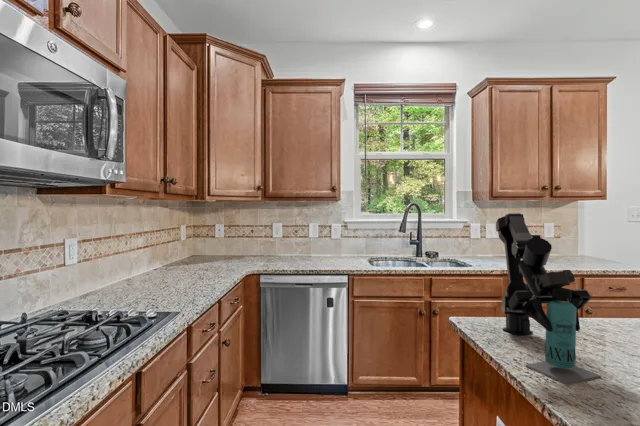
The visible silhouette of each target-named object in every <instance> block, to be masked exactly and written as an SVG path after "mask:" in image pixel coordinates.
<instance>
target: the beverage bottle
mask: <svg viewBox="0 0 640 426" xmlns="http://www.w3.org/2000/svg"><path fill="white" fill-rule="evenodd" d="M571 290H572V289H570V288H565V287H562V288H553V291H552V296H553V297H556V298H563V299H571V298H572V292H571ZM576 311H577V308H576V307H575V306H574V305H573V304H572V303H570V302H566V301H559V300H553V301H551V302H549V303H547V304H546V316H547V318H548V320H549V322H550V324H551V327H552V331H551V332H549V331H548V330H546V329H545V328H544V329H545V337H544V339H545V342H544V357H543V358H544V359H545V360H544V361H546V362H547V363H549V364H550V365H553V366H556V367H560V368H573V367H574V366H576V361H577V352H576V349H577V348H576V346H577V332H578V331H577V329H576Z"/></svg>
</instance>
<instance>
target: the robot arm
mask: <svg viewBox="0 0 640 426" xmlns="http://www.w3.org/2000/svg"><path fill="white" fill-rule="evenodd" d="M524 217H525V216H524V214H523V213H521V212H520V213H515V212H513V213H507V214H505V215H504V216H502V217H499V218H498V219H497V220H496V221H495V231H496V232H497V234H498V238H499V240H500V241H501V242H502V243H503V245H504V251H505V253H504V254H505V261H506V262H505V263H506V268H507V269H506V271H507V279H508V285H507V286H506V289H505V290H504V294H503V295H502V299H501V311H502V312H503V314H504V315H505V327H503V328H502V331H505V332H507V333H510V334H513V335H516V336H523V335H529V334H533V333H534V332H533V331H532V330H531V321H530V318H531V319H532V320H534V321H536V323H538V324H539V325H540V326H542V327H543V328H544V329H546V330H548V331H549V332H551V331H552V327H551V324H550V322H549V320H548V318H547V313H546V312H545V311H544V309H543V305H544V304H546V305H547V304H548V303H549V302H551V301H553V300H559V301H566V302H570V303H572V304H573V305H574V306H575V307H576V308H577V311H576V329H577V331H576V332H579V331H580V330H581V326H580V319H579V310H580V309H582V308H583V307H584V306H585V305H587V303H588V302H589V301H590V300H591V299H592V296H591V294H590V292H589V291H588V290H586V289H582V288H581V289H580V288H579V289H576V288H575V289H570V290H571V292H572V298H571V299H563V298H556V297H553V296H552V291H553V288H564V287H566V286H570V285H571V283H574V282H575V281H576V278H575V276H574V273H573V272H572V271H571V269H563V270H562V271H549V272H547V270H546V268H545V266H546V265H547V262H548V261H549V257H550V254H551V251H552V249H553V248H552V244H551V243H550V242H549V241H548V240H546V239H544V238H541V234H531V233H530V231H529V228H528V226H527V224H526V221H525V218H524ZM546 330H545V331H546Z"/></svg>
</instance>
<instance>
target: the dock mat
mask: <svg viewBox="0 0 640 426" xmlns="http://www.w3.org/2000/svg"><path fill="white" fill-rule="evenodd" d="M525 367H526V368H528V369H531V370H533V371H534V372H538V373H540V374H542V375H543V376H546V377H548V378H550V379H552V380H555V381H556V382H560V383H562V384H564V385H567V386H568V385H573V384H578V383H582V382H586V381H590V380H594V379H601V377H602V376H601V375H600V374H598V373H595V372H593V371H590V370H587V369H585V368H582V367H580V366H577V365H575V366H574V367H573V368H560V367H556V366H553V365H550V364H549V363H547V362H546V360H542V361H539V362H534V363H533V362H532V363H528V364H525Z"/></svg>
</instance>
